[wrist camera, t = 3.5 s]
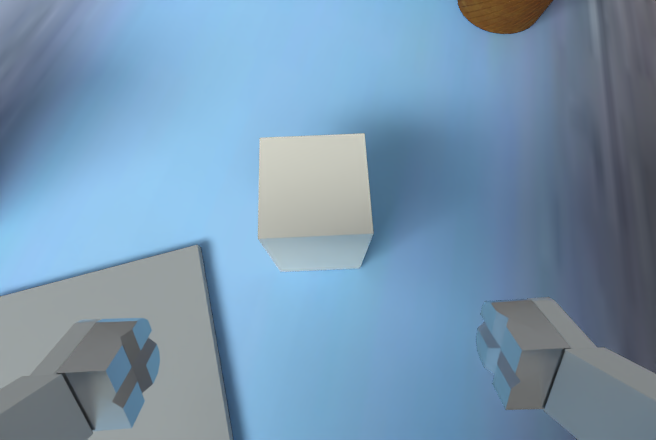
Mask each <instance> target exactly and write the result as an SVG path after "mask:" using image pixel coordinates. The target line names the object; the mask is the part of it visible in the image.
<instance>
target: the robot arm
mask: <svg viewBox="0 0 656 440" xmlns="http://www.w3.org/2000/svg"><path fill="white" fill-rule="evenodd" d="M480 315H481V316H482V318H483V320H484V322H483V323H482V324H481V325H480V326H479V327H478V328H477V335H476V344H477V351H478V355H479V358H480V360H481V362H482V364H483V366H484V368H485V369H487V370H488V371H489V372H491V373H492V374H493V375H494V378H493V383H492V384H493V386H494V388H495V390H496V392H497V394H498V396H499V398H500V400H501V402H502V404H503V406H504V408H505V410H515V409H544V411H545V412H546V413H547V414H548V415H549V416H550V417H552V418H553V419H554V420H555V421H556V422H558V423H559V424H560V425H561V426H562V427H563V428H565V429H566V430H567V431H568V432H569V433H570V434H572V435H573V436H574V437H575V438H576V439H578V440H656V374H655V373H653V372H651V371H649V370H647V369H645V368H643V367H641V366H640V365H638V364H636V363H634V362H632V361H630V360H628V359H626V358H624V357H622V356H620V355H618V354H616V353H614V352H612V351H610V350H608V349H607V348H605V347H601V348H597V347H596V346H595V345H594V343H593V342H592V341H591V340H590V339H589V338H588V337H587V336H586V335H585V334H584V332H583V331H582V330H581V329H580V328H579V327H578V326H577V325H576V324H575V323H574V321H573V320H572V319H571V318H570V317H569V316H568V315H567V314H566V313H565V312H564V310H563V309H562V308H561V307H560V306H559V305H558V304H557V303H556V302H555V301H554V300H553V299H551V298H549V297H541V298H527V299H516V300H498V301H485V302H484V304H483V305H482V308H481V313H480ZM151 331H152V329H151V326H150V324H149V321H148V320H147V319H144V318H117V319H93V320H80V321H78V322H76V323H74V324H73V326H72V327H71V328H70V329H69V330H68V331H67V333H66V334H65V335H64V336H63V337H62V338H61V340H60V341H59V342H58V343H57V344H56V345H55V346H54V348H53V349H52V350H51V351H50V352H49V353H48V355H47V356H46V357H45V358H44V359H43V360H42V362H41V363H40V364H39V365H38V366H37V367H36V369H35V370H34V371H33V372H32V373H31V374H30V376H21V377H20V378H18V379H16V380H15V381H13V382H11V383H10V384H8V385H6V386H5V387H3V388H1V389H0V440H87V439H88V438H89V437H90V436H91V435H92V434H93V432H92V431H104V430H117V429H129V428H132V427H133V425H134V423H135V421H136V419H137V417H138V415H139V413H140V411H141V408H142V406H143V404H144V402H145V399H144V396H143V392H144V391H145V390H147V389H148V388H149V387H150V386H151V385H153V383H154V381H155V379H156V376H157V374H158V370H159V365H160V353H159V349H158V346H157V344H156V343H155V342H154V341H152V340H151V339H150V338H148V337H149V335H150V333H151Z"/></svg>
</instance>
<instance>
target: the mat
mask: <svg viewBox="0 0 656 440" xmlns="http://www.w3.org/2000/svg"><path fill="white" fill-rule="evenodd" d="M117 318H144V319H147V320H148V321H149V324H150V326H151V329H152V331H151V333H150V335H149V337H148V338H150V339H151V340H152V341H154V342H155V343H156V344H157V346H158V349H159V353H160V365H159V370H158V374H157V376H156V379H155V381H154V383H153V385H151V386H150V387H149V388H148V389H147V390H145V391H144V392H143V396H144V399H145V402H144V404H143V406H142V408H141V411H140V413H139V415H138V417H137V419H136V421H135V423H134V425H133V427H132V428H129V429H117V430H104V431H92V432H93V434H92V435H91V436H90V437H89V438H88V439H87V440H233V435H232V429H231V423H230V417H229V411H228V405H227V399H226V393H225V388H224V382H223V376H222V370H221V364H220V358H219V352H218V346H217V340H216V334H215V329H214V323H213V317H212V311H211V305H210V299H209V293H208V287H207V281H206V275H205V269H204V264H203V258H202V252H201V247H200V246H198V245H194V246H190V247H186V248H183V249H179V250H175V251H171V252H167V253H164V254H160V255H156V256H152V257H148V258H145V259H141V260H137V261H133V262H129V263H126V264H122V265H118V266H114V267H110V268H107V269H103V270H99V271H95V272H91V273H88V274H84V275H80V276H76V277H72V278H69V279H65V280H61V281H57V282H53V283H50V284H46V285H42V286H38V287H34V288H31V289H27V290H23V291H19V292H15V293H12V294H8V295H4V296H0V389H1V388H3V387H5V386H6V385H8V384H10V383H11V382H13V381H15V380H16V379H18V378H20V377H21V376H30V374H31V373H32V372H33V371H34V370H35V369H36V367H37V366H38V365H39V364H40V363H41V362H42V360H43V359H44V358H45V357H46V356H47V355H48V353H49V352H50V351H51V350H52V349H53V348H54V346H55V345H56V344H57V343H58V342H59V341H60V340H61V338H62V337H63V336H64V335H65V334H66V333H67V331H68V330H69V329H70V328H71V327H72V326H73V324H74V323H76V322H78V321H80V320H93V319H117Z"/></svg>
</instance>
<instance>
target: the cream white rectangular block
mask: <svg viewBox="0 0 656 440" xmlns="http://www.w3.org/2000/svg"><path fill="white" fill-rule="evenodd" d="M372 236H373V223H372V211H371V200H370V189H369V178H368V167H367V156H366V145H365V133H363V134H340V135H316V136H292V137H269V138H260V151H259V206H258V240H259V241H260V243H261V244H262V246H263V247H264V248H265V250H266V251H267V253H268V254H269V256H270V257H271V259H272V260H273V262H274V263H275V264H276V266H277V267H278V269H279V270H280V272H291V271H313V270H335V269H357V268H360V267H361V264H362V262H363V259H364V256H365V254H366V251H367V249H368V246H369V244H370V241H371V239H372Z"/></svg>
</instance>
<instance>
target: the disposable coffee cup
mask: <svg viewBox="0 0 656 440" xmlns="http://www.w3.org/2000/svg"><path fill="white" fill-rule="evenodd" d="M552 1H553V0H458V6H459V8H460V11H461V12H462V14H463V15H464V16H465V17H466V18H467V19H468V20H469V21H470V22H471V23H472V24H474V25H475V26H477V27H479V28H481V29H483V30H486V31H489V32H493V33H500V34H511V33H517V32H520V31H523V30H525V29H528V28H529V27H530V26H532V25H533V24H534V23H535V22H536V21H537V19H538V18H539V17H540V16H541V14H542V13H543V12H544V11H545V10H546V8H547V7H548V6H549V5H550V3H551V2H552Z"/></svg>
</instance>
